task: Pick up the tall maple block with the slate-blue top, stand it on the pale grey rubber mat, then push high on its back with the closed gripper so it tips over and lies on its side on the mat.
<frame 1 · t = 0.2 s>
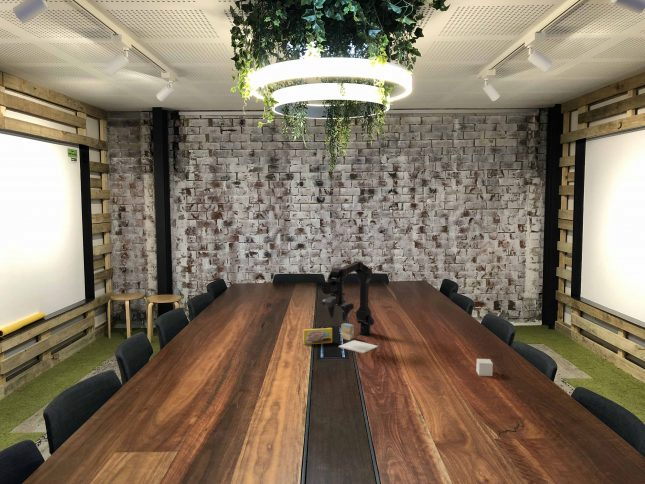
hand: (337, 319, 271), 14 cm above the table, tool pointing down, fingers open, 9 cm apart
candy box: (317, 343, 275), on the table
white cube: (484, 374, 231), on the table
mat: (358, 347, 268), on the table
maple block: (347, 338, 284), on the table
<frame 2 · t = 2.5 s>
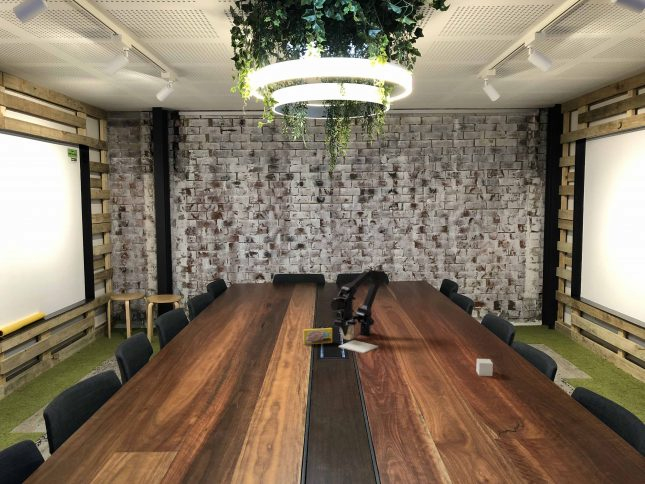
hand: (347, 334, 284), 2 cm above the table, tool pointing down, fingers closed on maple block, 4 cm apart
maple block: (347, 338, 284), on the table, touching gripper
everything else where it was.
when the fingers open (4 cm above the table, at t = 6.7 s): maple block stays where it is, resting on mat.
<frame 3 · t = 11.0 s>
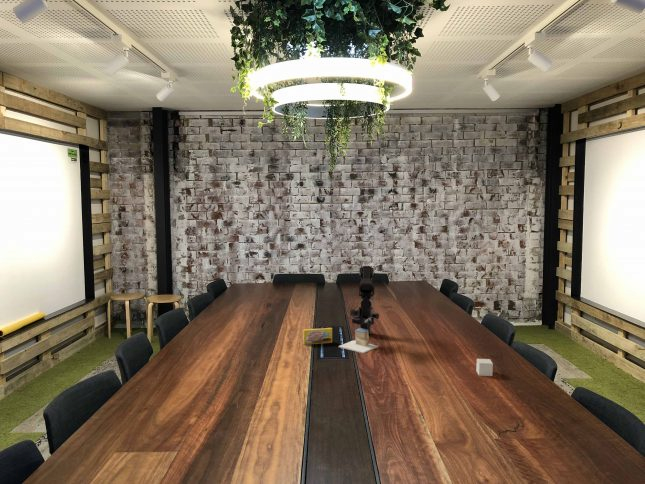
hand: (365, 333, 273), 6 cm above the table, tool pointing down, fingers closed
maple block: (362, 343, 272), point 1 cm above the table, tilted 8°, touching gripper, mat
everything else where it was.
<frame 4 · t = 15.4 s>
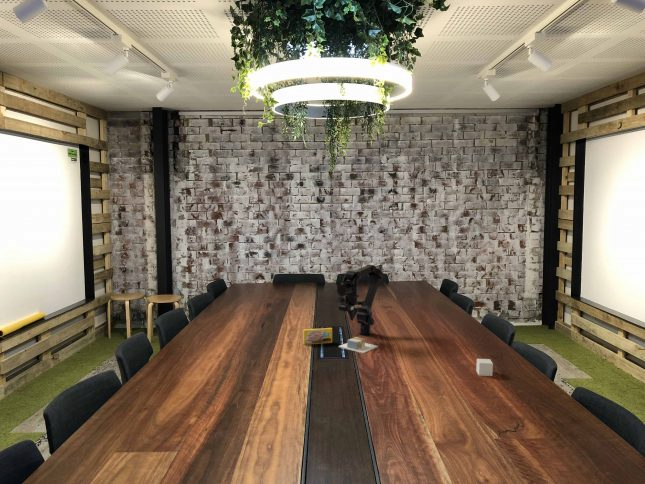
hand: (351, 320, 281), 11 cm above the table, tool pointing down, fingers closed
maple block: (360, 341, 270), point 3 cm above the table, tilted 90°, touching mat
everything else where it was.
at the end: maple block tilted 90°; maple block inside the target area on the mat (2.1 cm from its centre), point 2.6 cm above the mat's base; maple block touching mat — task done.
